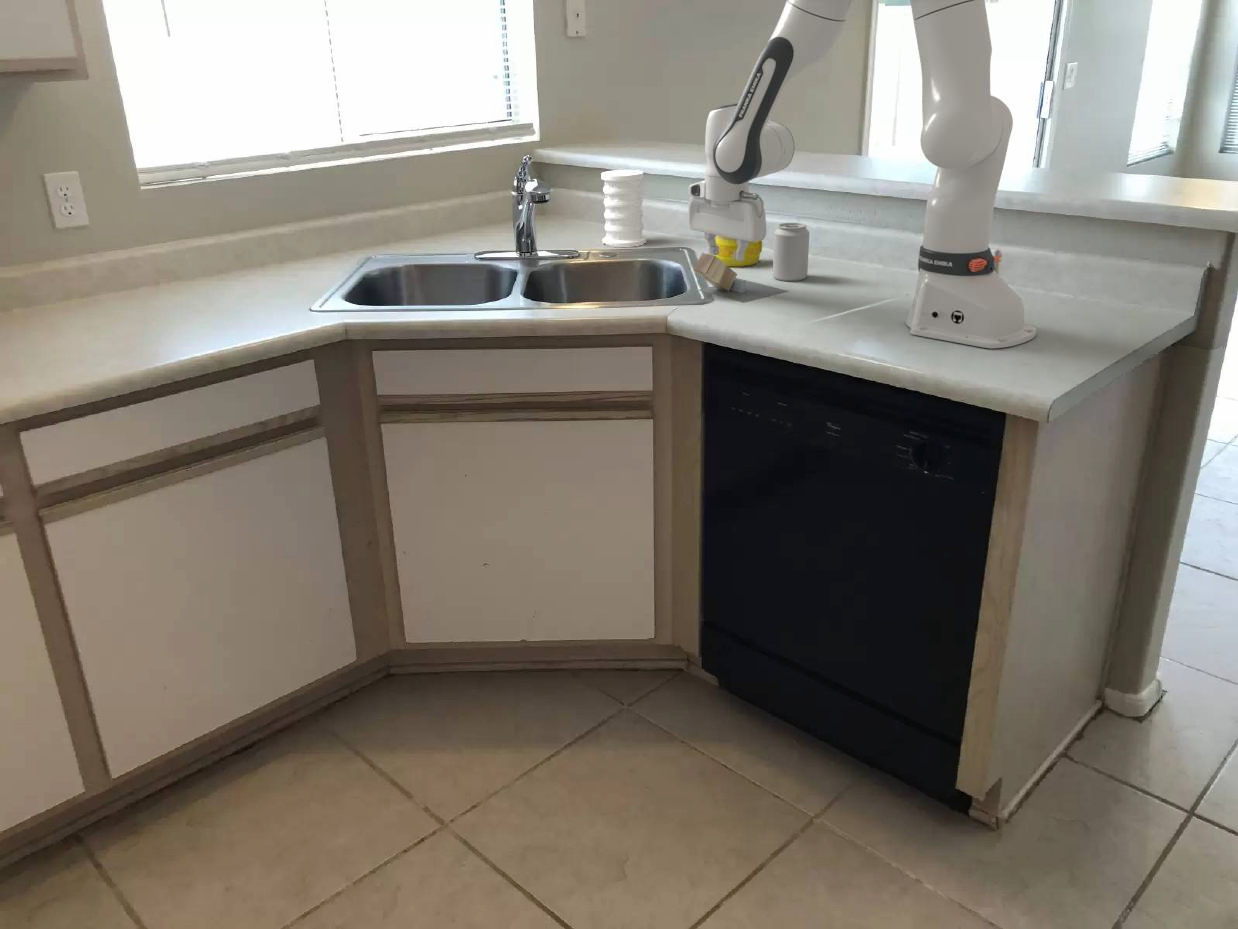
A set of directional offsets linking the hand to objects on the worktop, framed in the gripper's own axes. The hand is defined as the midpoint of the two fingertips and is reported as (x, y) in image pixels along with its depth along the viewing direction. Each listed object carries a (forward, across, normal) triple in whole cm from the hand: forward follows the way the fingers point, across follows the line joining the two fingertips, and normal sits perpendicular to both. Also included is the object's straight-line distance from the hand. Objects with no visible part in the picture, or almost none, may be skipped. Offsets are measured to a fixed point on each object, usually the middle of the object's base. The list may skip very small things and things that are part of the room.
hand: (726, 257), depth 196 cm
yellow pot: (+8, +17, -20) cm, 28 cm away
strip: (+7, 0, -1) cm, 7 cm away
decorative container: (+8, +56, -15) cm, 59 cm away
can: (+8, -2, -17) cm, 19 cm away
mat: (+7, -3, -2) cm, 8 cm away
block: (+5, 0, 0) cm, 5 cm away
